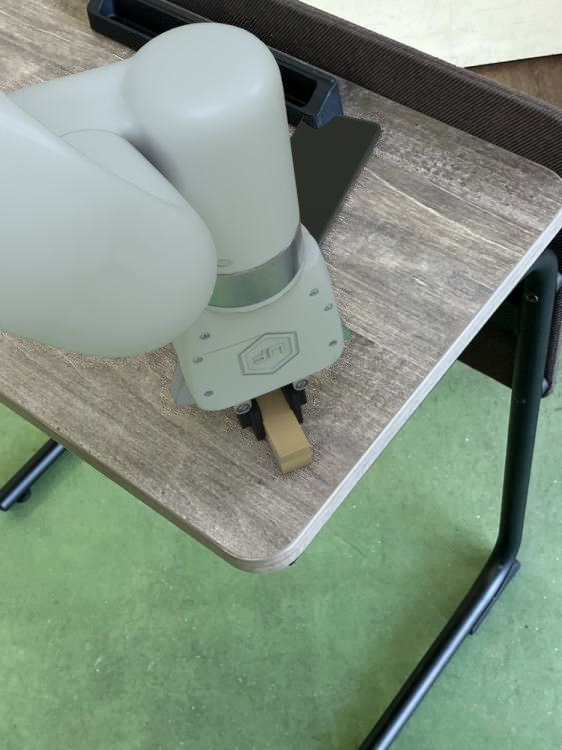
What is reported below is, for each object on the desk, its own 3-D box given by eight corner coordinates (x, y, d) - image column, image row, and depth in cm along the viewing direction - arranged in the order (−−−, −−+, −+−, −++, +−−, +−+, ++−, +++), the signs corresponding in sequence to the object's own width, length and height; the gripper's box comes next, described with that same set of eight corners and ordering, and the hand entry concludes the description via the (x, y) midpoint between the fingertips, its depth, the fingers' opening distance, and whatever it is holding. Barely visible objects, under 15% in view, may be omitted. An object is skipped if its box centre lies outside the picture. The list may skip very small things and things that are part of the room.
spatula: (331, 454, 66) (329, 437, 64) (264, 482, 65) (260, 465, 63) (252, 301, 74) (248, 281, 72) (192, 325, 73) (186, 306, 71)
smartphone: (383, 122, 84) (314, 250, 76) (384, 131, 85) (315, 259, 77) (307, 106, 86) (232, 229, 78) (308, 115, 87) (234, 238, 79)
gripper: (118, 347, 50) (185, 503, 65) (396, 238, 52) (398, 414, 67) (79, 249, 54) (151, 418, 69) (338, 152, 56) (352, 337, 71)
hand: (272, 415), depth 68 cm, fingers closed on spatula, 2 cm apart
